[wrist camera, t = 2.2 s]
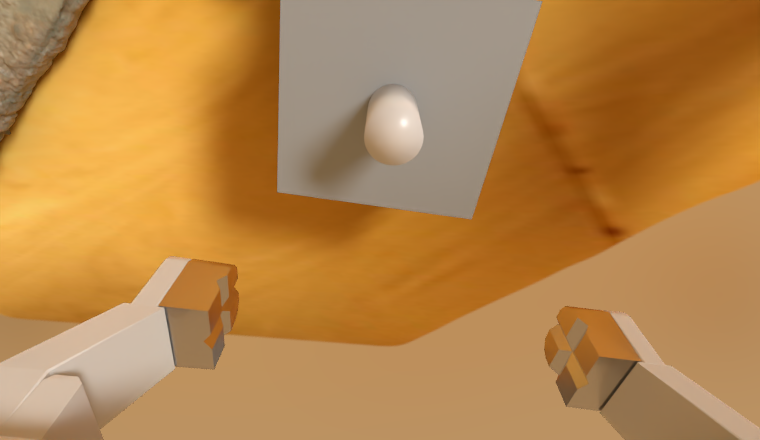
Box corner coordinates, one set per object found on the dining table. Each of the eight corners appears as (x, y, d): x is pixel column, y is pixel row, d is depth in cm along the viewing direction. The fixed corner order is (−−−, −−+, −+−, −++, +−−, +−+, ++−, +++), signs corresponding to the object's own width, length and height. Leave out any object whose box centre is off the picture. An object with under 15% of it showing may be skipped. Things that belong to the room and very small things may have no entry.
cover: (490, -8, 31) (581, 8, 17) (448, 152, 39) (486, 262, 24) (317, -40, 31) (252, -51, 16) (307, 131, 38) (257, 232, 23)
